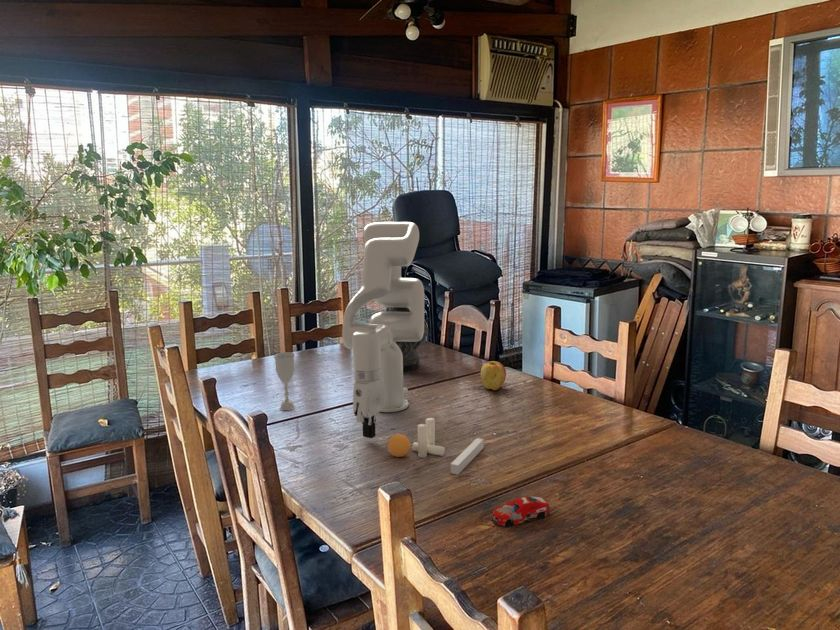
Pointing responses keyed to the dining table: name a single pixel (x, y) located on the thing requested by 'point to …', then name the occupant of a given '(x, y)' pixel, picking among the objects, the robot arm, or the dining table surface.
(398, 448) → the ball
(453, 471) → the white rectangular bar
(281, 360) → the chalice
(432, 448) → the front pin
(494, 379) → the apple
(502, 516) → the race car
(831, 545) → the dining table surface
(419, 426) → the pin
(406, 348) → the beer stein
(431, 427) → the pin
